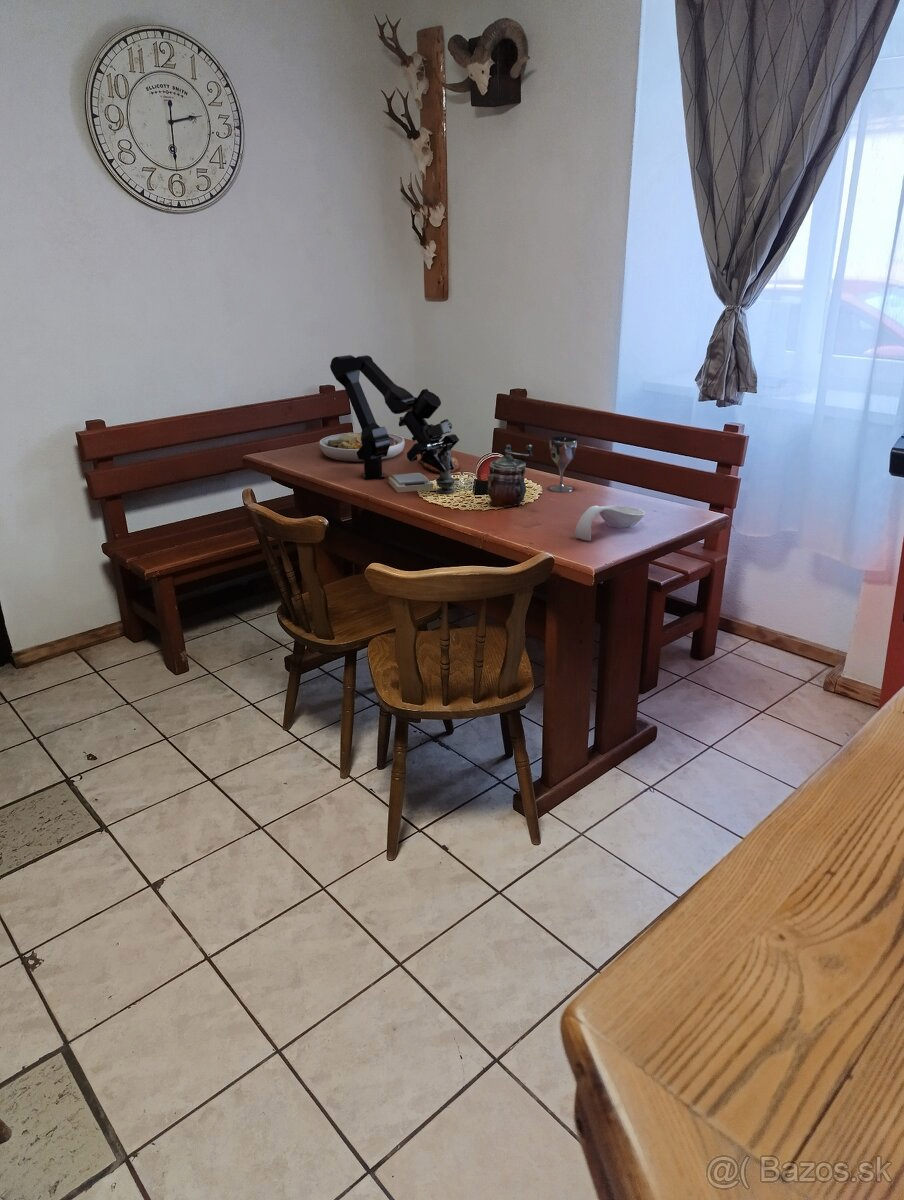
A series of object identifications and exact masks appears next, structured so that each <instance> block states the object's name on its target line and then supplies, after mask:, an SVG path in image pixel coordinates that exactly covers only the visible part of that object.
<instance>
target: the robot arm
mask: <svg viewBox="0 0 904 1200" xmlns="http://www.w3.org/2000/svg"><path fill="white" fill-rule="evenodd" d="M329 368H330V371H331V373H332V375H333V376H334V378H335V380H336V381H337V382H338V383H339V384H340V385H342V387H343V388H344V389H345V392H346V395H347V397H348V399H349V402H350V404H351V407H352V409H353V411H354V413H355V417H356V419H357V421H358V423H359V425H360V428H361V432H362V434H361V441H362V446H361V448H360V449H359V450H358V451H357V456H358V459H361V460H364V462H363V472H362V473H361V476H362V478H364V480H375V479H376V480H377V479H386V475H385V474H384V473H383V460H382V457H384V456H387V453H388V450H389V447H390V440H389V439H390V437H389V435H388V429H387V428H386V426H380V425H378V423H377V421H376V419H375V417H374V415H373V412H372V409H371V407H370V405H369V401H368V400H367V397H366V395H365V392H364V390H363V387H362V385H361V382H360V376H361V375H360V374H363V375H364V377H365V378H366V379H367V380H368V381H369V382H370V383H371V384H372V385H373V387H375V388H376V389H377V391H378V392H380V394H381V395H382V397H383V399H384V404H385V405H386V406H387V407H388V409H389V411H390V412H391V413H392V414H394V415H400V414H404V413H405V414H404V415H403V416H400V417H399V421H398V427H399V428H400V427H404V426H406V428H407V429H408V431H409V432H410V434H411V440H412V442H416V443H414V444H413V445H412V446H411V447H410V449H408V451H407V452H406V458H407V460H408V462H410V463H413V462H416V461H418V455H420V458H421V457H422V458H421V459H419V462H420V463H421V462H424V463H426V464H428V465H430V466H432V467H434V468H436V469H438V470H439V471H441V472H443V473H444V472H445V471H446V469H445V467H444V465H443V464H442V462H441V456H442V455H444V454H445V452H446V454H447V455H449V456H450V466H451V468H450V469H451V470H453V469H454V465H453V461H452V458H453V457H452V454H451V450H452V449H453V448H454V447H455V445H457V443H459V441H460V439H459V437H458V436H457V434H454V433H452V431H451V430H452V428H453V424H452V423H451V421H450V420H449V419H448V418H445V419H443V420H440V422H439V423H437V424H432V423H430V424H429V423H428V421H427V420H428V419H431V417H432V416H433V415H434V414H435V412H436V411H437V410H438V409H439V408H440V407H441V405H442V401H441V399H440V397H439V396H438V395H436V393H434V392H432V391H429V389H428V388H424V389H421V390H420V392H419V394H418V395H417V397H415V396H414V395H413V394H412V393H411V392H410V391H408V390H407V389H406V388H404V387H401V386H400V385H397V384H396V383H395V382H393V380H392V379H391V378H390V377H389V376H388V375H387V374H386V373H385V372H384V371H383V370H382V369H381V368H380V367H379V366H378V365H377V364H376V362H374V360H373V358H372V357H371V356H370V355H368V354H367V355H366V354H365V355H357V357H355V356H354V355H352V354H347V355H340V356H334V357H333V358H332V359H331V361H330V364H329ZM447 433H448V435H446V434H447ZM450 433H451V434H450ZM440 440H441V441H440ZM451 457H452V458H451Z"/></svg>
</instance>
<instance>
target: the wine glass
mask: <svg viewBox="0 0 904 1200" xmlns="http://www.w3.org/2000/svg"><path fill="white" fill-rule="evenodd" d="M577 440H578V439H577V438H575V437H572V436H553V437H550V438H549V454H550V457H551V460H552V461H553V462H554V464H555V465H556V466H557V468H558V471H559V484H558V485H552V486H550V487H548V489H549V491H551V492H557V493H567V492H572V491H573V490H574V488H573V487H571V486H568V485H564V484H563V482H564V481H563V480H564V473H565V471H566V468H567V467H568V465H570V463H571V462H572V461H573V460H574V458H575V455H576V451H577V446H578V445H577V444H578V441H577Z"/></svg>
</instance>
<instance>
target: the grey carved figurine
mask: <svg viewBox="0 0 904 1200" xmlns="http://www.w3.org/2000/svg"><path fill="white" fill-rule="evenodd" d="M441 462H442V464H443V465H444V467H445V469H446V471H445V472H444V473H443V472H441V471H440V473H439V477H436V478H435V482H436V485H437V487H439V488H438V489H437V490H436V493H437V494H441V495H442V494H443V495H448V494H453V493H455V490H454V489H453V487H454V484H455V482H456V479H455V478H454V477H452V475H451V474H452V473H450V468H451V466H450V456H449V455H447V454H446V452H445V454H444V455H442V456H441Z"/></svg>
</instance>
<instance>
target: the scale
mask: <svg viewBox="0 0 904 1200" xmlns="http://www.w3.org/2000/svg"><path fill="white" fill-rule="evenodd" d="M388 483H389V485H390V486H391V487H392V488H393V489H394V490H395V492H396V493H398V494H399V493H407V492H408V493H411V492H423V491H433V490H434V484H433V482H432V481H430V480H429V478H427V477H426V476H425V475H424V474H422V473H421V472H411V473H400V474H391V476H389V477H388Z"/></svg>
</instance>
